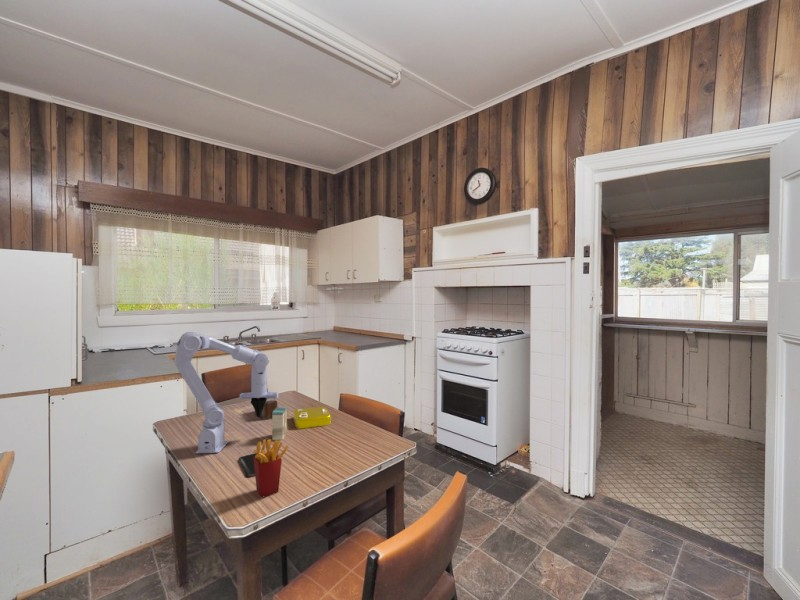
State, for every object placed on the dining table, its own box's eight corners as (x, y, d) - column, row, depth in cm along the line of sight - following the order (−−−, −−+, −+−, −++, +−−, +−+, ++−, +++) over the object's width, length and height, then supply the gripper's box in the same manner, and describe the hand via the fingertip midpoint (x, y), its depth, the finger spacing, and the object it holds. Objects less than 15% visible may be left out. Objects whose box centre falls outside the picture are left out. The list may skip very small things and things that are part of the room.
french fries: (258, 500, 97) (258, 447, 97) (251, 487, 104) (251, 437, 104) (289, 490, 103) (289, 439, 102) (280, 478, 109) (281, 430, 109)
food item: (256, 412, 170) (256, 391, 169) (272, 409, 174) (273, 389, 174) (262, 420, 158) (262, 399, 158) (280, 417, 163) (280, 396, 163)
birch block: (282, 439, 138) (282, 412, 138) (272, 440, 137) (272, 412, 137) (286, 433, 144) (286, 407, 144) (276, 434, 143) (276, 407, 143)
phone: (248, 475, 109) (238, 457, 121) (248, 479, 109) (238, 460, 121) (273, 468, 114) (261, 451, 126) (273, 472, 114) (261, 454, 126)
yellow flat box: (331, 425, 154) (331, 414, 154) (296, 430, 148) (296, 419, 148) (325, 414, 168) (325, 404, 168) (293, 418, 162) (293, 408, 162)
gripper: (280, 379, 144) (280, 412, 144) (244, 380, 143) (244, 413, 143) (275, 384, 137) (275, 418, 137) (237, 384, 136) (237, 419, 136)
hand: (259, 416), depth 140 cm, fingers closed
